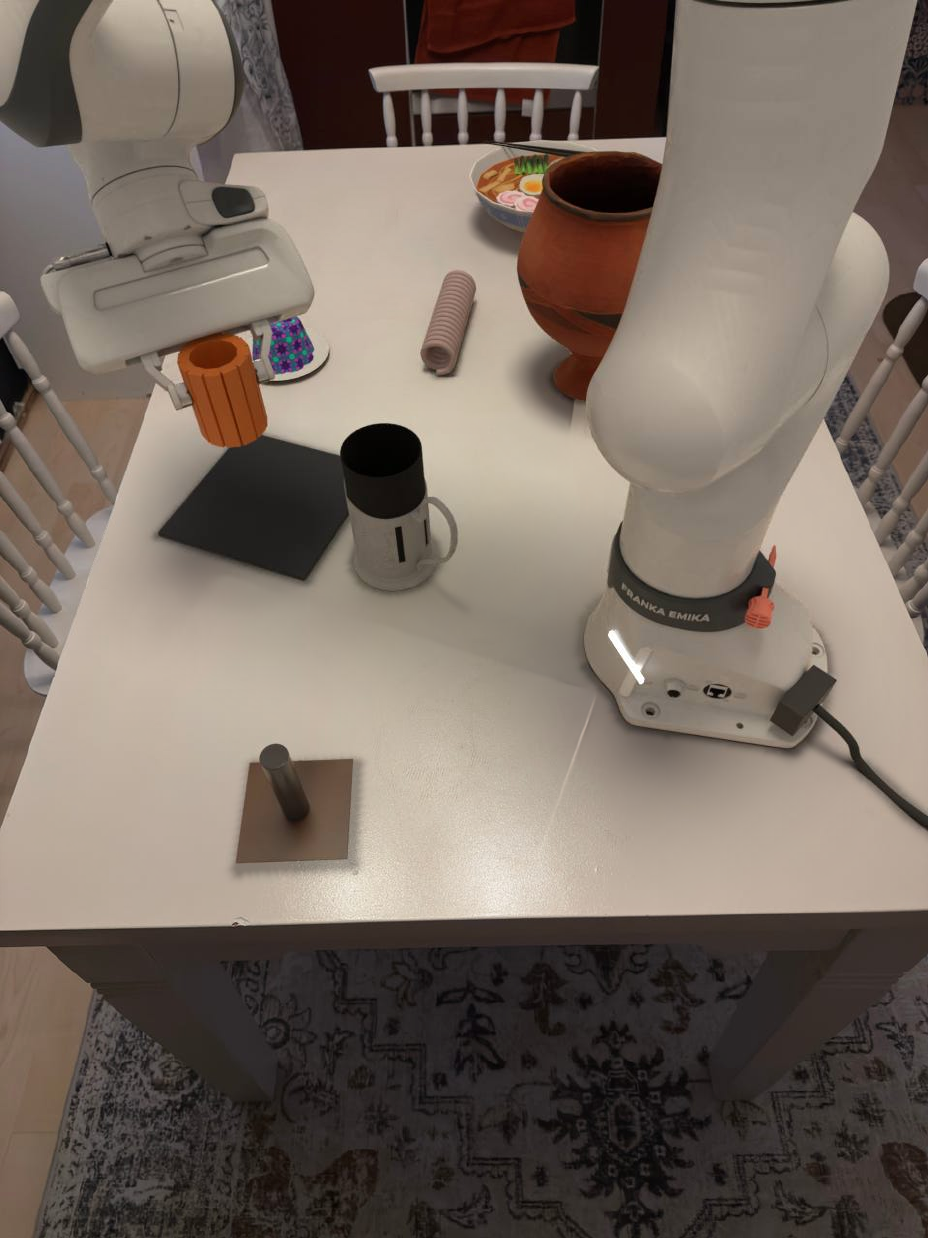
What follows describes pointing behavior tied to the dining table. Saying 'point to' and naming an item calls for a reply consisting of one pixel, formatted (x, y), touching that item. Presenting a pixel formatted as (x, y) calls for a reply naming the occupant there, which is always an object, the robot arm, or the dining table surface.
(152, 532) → the dining table surface
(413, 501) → the glass holder
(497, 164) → the ramen bowl
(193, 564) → the dining table surface
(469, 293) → the coil
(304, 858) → the stake stand
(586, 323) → the goblet
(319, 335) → the pudding
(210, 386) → the orange grooved hollow cylinder
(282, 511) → the mat
